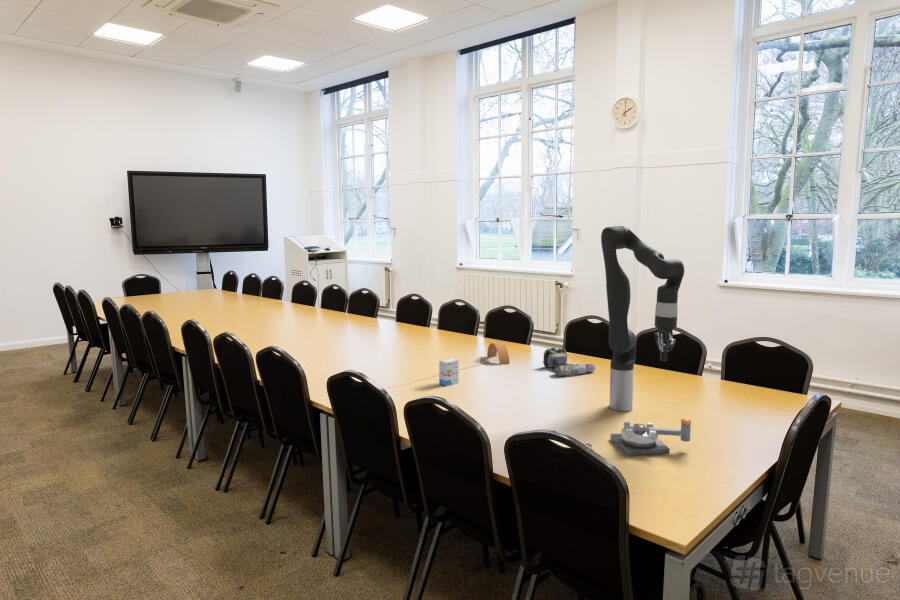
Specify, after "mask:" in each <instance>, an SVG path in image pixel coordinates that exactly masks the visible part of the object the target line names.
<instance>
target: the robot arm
mask: <svg viewBox="0 0 900 600" xmlns="http://www.w3.org/2000/svg"><path fill="white" fill-rule="evenodd" d="M600 242H601V250H602V256H603V262H604V268H605V269H604V270H605V272H604V273H605V284H606V285H605V287H606V289H605V290H606V298H607V299H606V300H607V311H608V319H609V320H608V345H609V347H610V349H611V351H612V352H613V354H612V358H611V359H610V368H609V369H610V370H609V371H610V372H609V373H610V374H609V404H608V405H609V409H610V410H613V411H616V412H631V411H633V405H634V403H633V402H634V369H635V362H636V355H637V337H636V334H635V333H634V332H633V331H632V330H631V329H629V326H628V316H629V310H630V305H631V284H630V283H631V282H630V279H629V277H628V275H627V274H626V272H625V271H624V270H623V268H622V266H621V264H620V263H619V260H618V255H617V250H623V249H627V250H629V251H632V252H633V255H634V258H635V260H637V262H638V263H639V264H641V265H643V266H644V267H646V268H648V269H649V271H650V272H651V274H653V276H654V277H655V278H657V279H660V280H666V282H665V283H664V284H662V285H659V286H658V287H657V291H656V302H655V303H656V305H655V311H654V312H655V313H654V327H655V328H657V332H654V335H653V336H654V339H655V344H656V346H657V348H658V350H659V360H660V361H661V362H664V363H665V362H668V355H669V352H672V350H673V349H674V347H675V344H676V343H677V340H676V339H675V338H673V336H674V332H673V330H674V329H677V326H678V312H679V309H678V308H679V307H678V299H679V290H680V287H681V284H682V283H683V282H682V281H683V278H684V275H685V266H684V263H683V261H682V260H680V259H677V258H671V259H669V258H668V259H666V258H665V257H664V255H663V253H662V252H660V251H658V250H657V249H656V248H653V247H652V246H650V245H648V243H647V244H646V242H645V241H643V239H641V238H640V237H639V236H638V235H637V234H636V233H635V232H634V231H632V230H631V229H630V228H629V227H628V226H625V225H616V226H615V225H614V226H607V227H604V228H603V230H602V231H601V234H600Z"/></svg>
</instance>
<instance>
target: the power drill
mask: <svg viewBox="0 0 900 600" xmlns="http://www.w3.org/2000/svg"><path fill="white" fill-rule="evenodd" d="M567 360H568V354H567V350H566V348H557V349H556V348H555V347H551V348H546V350H544V352H543V360H542V361H543V362H542V364H543V365H544V368H548V367H550V368H551V369H552V368H554V370H553V371H554V374H555V376H557V377H571V376H576V375H578V376H579V375H583V374H586V373H593V372H594V371H595V370H596V365H595V364H593V363H589V364H585V363H576V364H573V363H567V362H568V361H567Z"/></svg>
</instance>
